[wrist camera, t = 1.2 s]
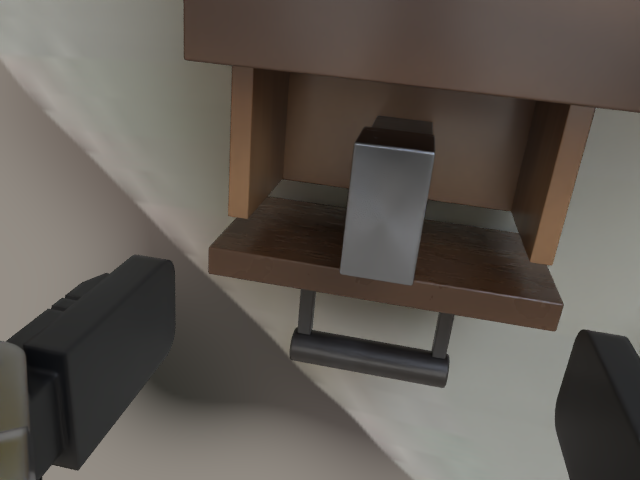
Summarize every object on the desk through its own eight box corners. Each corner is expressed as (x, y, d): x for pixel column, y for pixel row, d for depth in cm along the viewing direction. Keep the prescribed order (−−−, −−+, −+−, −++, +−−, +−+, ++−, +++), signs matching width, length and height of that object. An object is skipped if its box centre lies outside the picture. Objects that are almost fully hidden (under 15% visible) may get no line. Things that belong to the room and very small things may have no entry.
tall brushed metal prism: (379, 98, 25) (353, 142, 17) (435, 105, 24) (435, 152, 16) (367, 195, 26) (338, 275, 19) (419, 203, 26) (412, 287, 18)
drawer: (506, 345, 29) (525, 438, 23) (252, 302, 31) (206, 376, 25) (610, -62, 22) (679, -89, 16) (270, -88, 24) (212, -121, 17)
